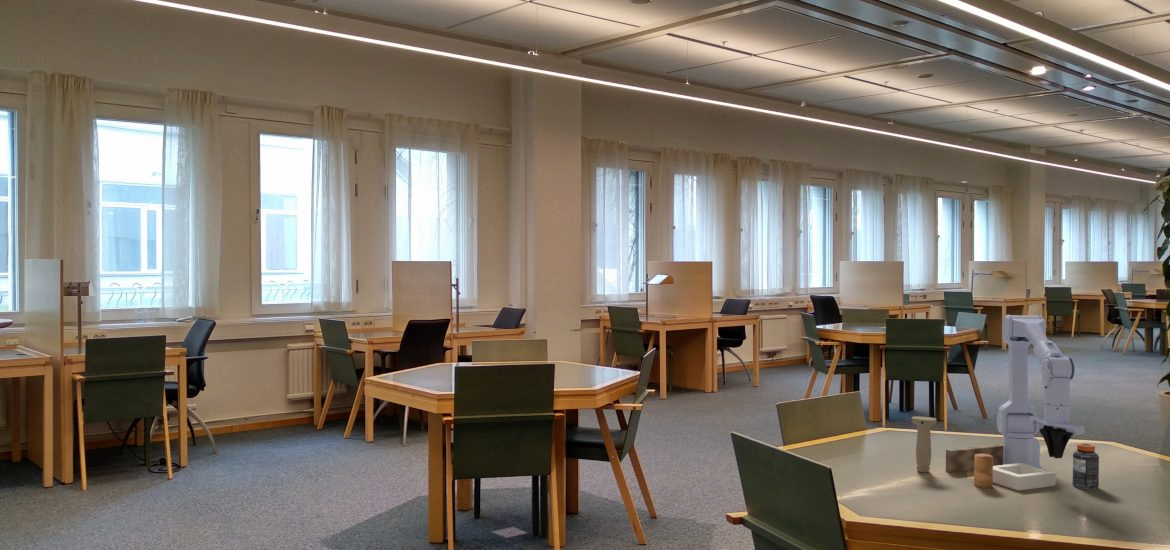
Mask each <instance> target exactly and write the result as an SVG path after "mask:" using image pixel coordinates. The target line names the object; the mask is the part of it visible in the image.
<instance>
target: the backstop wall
mask: <svg viewBox="0 0 1170 550" xmlns="http://www.w3.org/2000/svg"><path fill="white" fill-rule="evenodd" d="M975 454H988V455H991V456H993V466H997V465H1003V444H1002V445H1001V444H990V445H978V446H969V447H968V446H966V447H960V448H959V447H958V448H949V449H945V471H946V472H949V473H958V472H967V471H968V472H969V471H974V460H975Z"/></svg>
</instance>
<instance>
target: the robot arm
mask: <svg viewBox="0 0 1170 550" xmlns="http://www.w3.org/2000/svg"><path fill="white" fill-rule="evenodd" d="M1046 330H1047V323H1046V320H1045V318H1044V317H1043V316H1042V315H1041V314H1039V315H1014V314H1013V315H1011V314H1006V315H1005V316H1004V317H1003V320H1002V323H1001V338H1002V342H1003V343H1005V344H1006V345H1008V346H1007V347H1008V348H1007V349H1008V400H1007V401H1006V402H1005V403H1003V404H1002V405H1000V406H999V407H998V409H997V415H996V416H997V417H996V428H997V430H998V432H999V433H1000V435H1002V438H1003V439H1002V446H1003V465H1006V464H1015V463H1024V464H1027V465H1031V466H1034V467H1038V468H1041V469H1043V466H1042V465H1041V464H1040V463H1041V462H1040V461H1041V460H1040V459H1041V445H1040V441H1039V440H1038V438H1037V437H1036V435H1037V433H1038V432H1039V433H1040V435H1041V436H1042V438H1043V440H1044V442H1045V445H1046V448H1047V452H1048V455H1049V457H1050V458H1054V459H1062V458H1063V456H1064V452H1065V449H1066V447H1067V445H1068V442H1069V441H1070V439H1071V438H1072V437H1073V436H1074V434H1075V435H1077V436H1080V435H1085V433H1086V431H1085V426H1083V425H1080V424H1077V423H1074V422H1071V421H1070V408H1071V407H1070V404H1071V403H1070V402H1071V401H1070V399H1071V381H1072V380H1073V379H1074V377H1075V374H1076V373H1075V371H1076V368H1075V366H1076V365H1075V362H1074V360H1073V358H1072V357H1071V356H1067V355H1064V354H1063V353H1062V351H1061V350H1060V348H1059V347H1058V346H1057V344H1056V343H1055V342H1054V341H1052V340H1049V338H1048V337H1047V335H1046ZM1030 345H1032V346H1033V349H1032V350H1033V351H1032V352H1033V355H1034V356H1035V358H1036V359H1037V361H1038V363H1039V364H1040V373H1041V379H1042V380H1041V383H1042V385H1043V386H1044V388H1043V389H1044V391H1043V392H1044V393H1043V400H1044V401H1043V416H1038V412H1037V409H1036V408H1035V407H1034V406H1033V405H1031V404H1030V403H1029V401H1028V400H1029V399H1028V397H1029V396H1028V393H1029V392H1028V389H1029V388H1028V386H1029V385H1028V384H1029V383H1028V381H1029V379H1028V376H1029V375H1028V367H1029V366H1028V365H1029V364H1028V348H1029V347H1030ZM1040 426H1042V428H1040Z"/></svg>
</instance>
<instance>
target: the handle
mask: <svg viewBox="0 0 1170 550" xmlns="http://www.w3.org/2000/svg"><path fill="white" fill-rule="evenodd" d="M911 423H912V424H914V425H916V426H917V427H916V428H917V429H916V430H917V431H916V433H917V434H916V445H915V446H916V447H915V459H916V461H915V462H916V465H917V466H916V471H917V472H921V473H925V474H926V473H929V472H930V469H931V462H932V442H931V441H932V440H931V439H932V438H931V429H932V428H931V427H934V426H935V425H936V424H937V418H935V417H929V416H918V415H917V416H912V417H911Z"/></svg>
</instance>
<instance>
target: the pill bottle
mask: <svg viewBox="0 0 1170 550" xmlns="http://www.w3.org/2000/svg"><path fill="white" fill-rule="evenodd" d="M1095 451H1096V444H1095V445H1094V444H1092V443H1086V442H1085V443H1084V442H1081V443H1077V445H1076V450H1075V451H1074V452H1073V453H1072V486H1073V487H1075V488H1077V489H1081V490H1091V491H1092V490H1097V489H1099V488H1100V487H1099V485H1100V484H1099V483H1100V482H1099V481H1100V479H1099V478H1100V476H1099V475H1100V474H1099V473H1100V456H1099V454H1098V453H1096V452H1095Z"/></svg>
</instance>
